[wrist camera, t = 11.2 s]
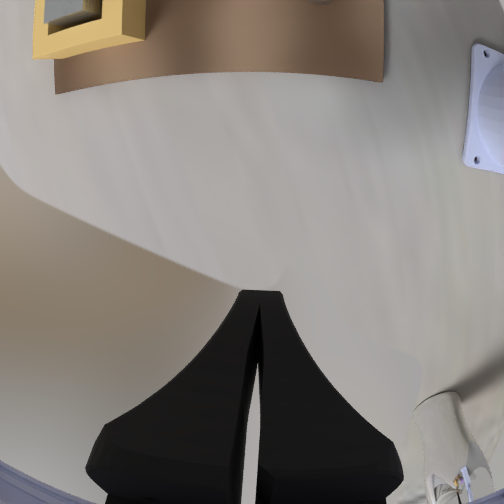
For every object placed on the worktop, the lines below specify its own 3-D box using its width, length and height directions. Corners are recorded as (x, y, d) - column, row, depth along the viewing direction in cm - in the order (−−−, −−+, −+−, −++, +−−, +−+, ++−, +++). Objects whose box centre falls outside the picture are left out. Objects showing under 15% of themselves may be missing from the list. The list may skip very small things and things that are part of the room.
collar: (148, -43, 11) (127, -61, 9) (145, 40, 14) (121, 34, 11) (66, -19, 11) (38, -28, 9) (62, 58, 14) (32, 59, 12)
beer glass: (467, 402, 29) (501, 506, 16) (418, 429, 31) (440, 534, 18) (455, 379, 26) (497, 503, 13) (399, 410, 29) (424, 534, 16)
